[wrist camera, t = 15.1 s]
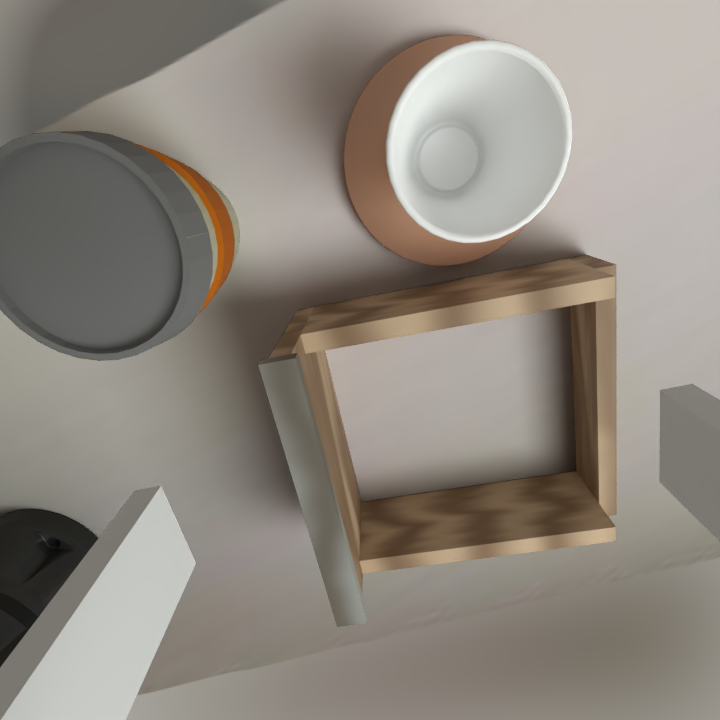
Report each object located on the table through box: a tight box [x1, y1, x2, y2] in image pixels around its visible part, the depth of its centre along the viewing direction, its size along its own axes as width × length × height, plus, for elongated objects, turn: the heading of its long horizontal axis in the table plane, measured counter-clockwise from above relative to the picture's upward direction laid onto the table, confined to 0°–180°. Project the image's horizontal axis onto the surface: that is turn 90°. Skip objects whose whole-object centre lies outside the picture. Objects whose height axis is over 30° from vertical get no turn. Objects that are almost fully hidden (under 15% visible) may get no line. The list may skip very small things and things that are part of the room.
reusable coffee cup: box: [0, 131, 240, 361], centre depth 31 cm, size 12×13×15 cm
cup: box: [386, 40, 572, 243], centre depth 29 cm, size 10×10×11 cm
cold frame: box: [258, 255, 616, 627], centre depth 37 cm, size 25×23×13 cm
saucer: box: [344, 35, 527, 266], centre depth 35 cm, size 16×16×1 cm
